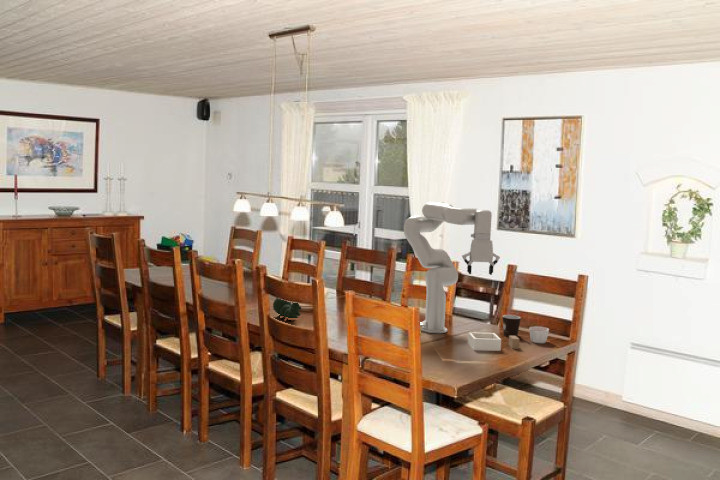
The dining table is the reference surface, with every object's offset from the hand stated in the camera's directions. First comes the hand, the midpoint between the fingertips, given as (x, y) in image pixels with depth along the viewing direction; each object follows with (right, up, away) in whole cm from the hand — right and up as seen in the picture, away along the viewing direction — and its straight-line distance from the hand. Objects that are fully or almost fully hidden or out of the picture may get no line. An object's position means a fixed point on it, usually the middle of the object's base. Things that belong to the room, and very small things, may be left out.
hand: (480, 274), depth 314 cm
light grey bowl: (+29, -33, +10) cm, 45 cm away
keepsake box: (0, -33, -8) cm, 34 cm away
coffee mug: (+18, -32, +18) cm, 41 cm away
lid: (+14, -34, -6) cm, 37 cm away
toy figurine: (-93, -26, +37) cm, 103 cm away
